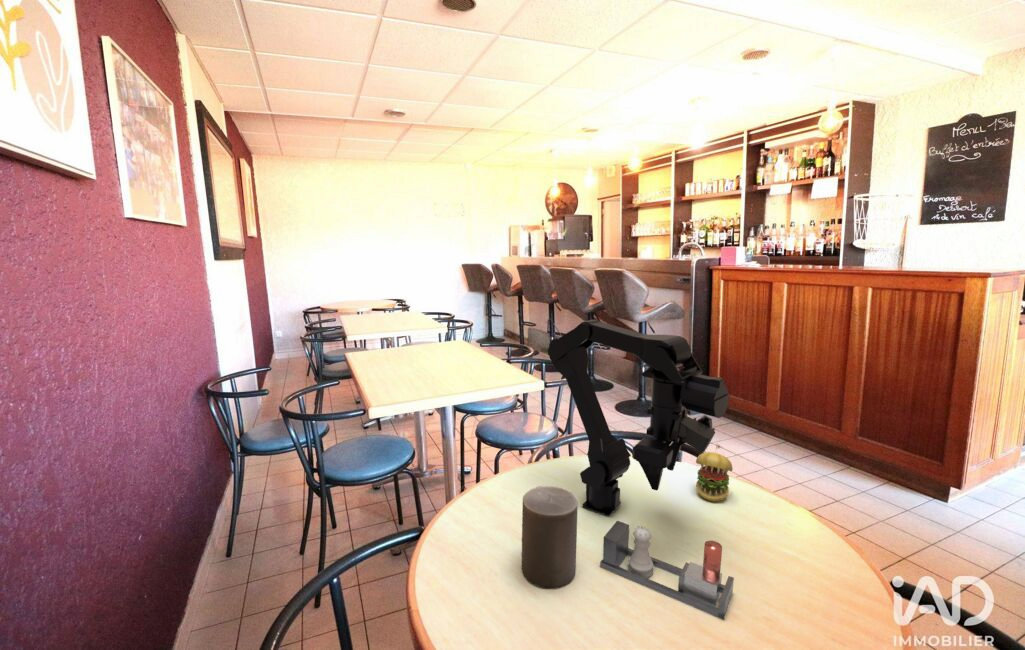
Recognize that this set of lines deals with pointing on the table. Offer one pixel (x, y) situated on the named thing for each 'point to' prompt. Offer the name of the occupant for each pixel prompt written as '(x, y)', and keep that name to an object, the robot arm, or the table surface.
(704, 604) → the press bed
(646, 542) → the rook chess piece
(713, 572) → the ram
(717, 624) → the table surface
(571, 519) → the pillar candle
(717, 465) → the hamburger
